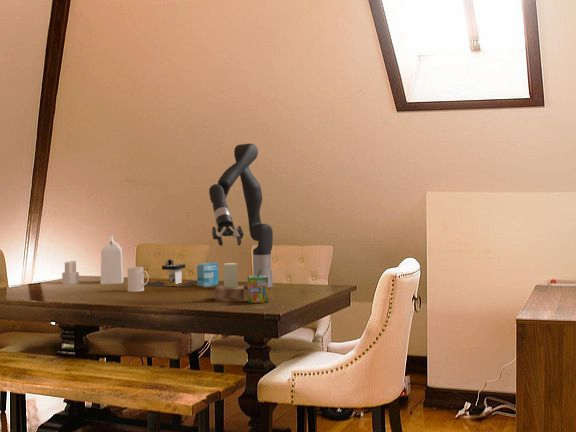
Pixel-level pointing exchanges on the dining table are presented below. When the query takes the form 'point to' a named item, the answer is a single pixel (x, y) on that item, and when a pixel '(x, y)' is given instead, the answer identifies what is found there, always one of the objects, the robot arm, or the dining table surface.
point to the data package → (207, 274)
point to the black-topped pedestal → (173, 275)
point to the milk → (112, 263)
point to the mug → (136, 279)
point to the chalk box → (257, 289)
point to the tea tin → (230, 275)
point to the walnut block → (229, 294)
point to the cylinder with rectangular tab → (70, 273)
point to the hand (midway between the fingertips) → (230, 244)
